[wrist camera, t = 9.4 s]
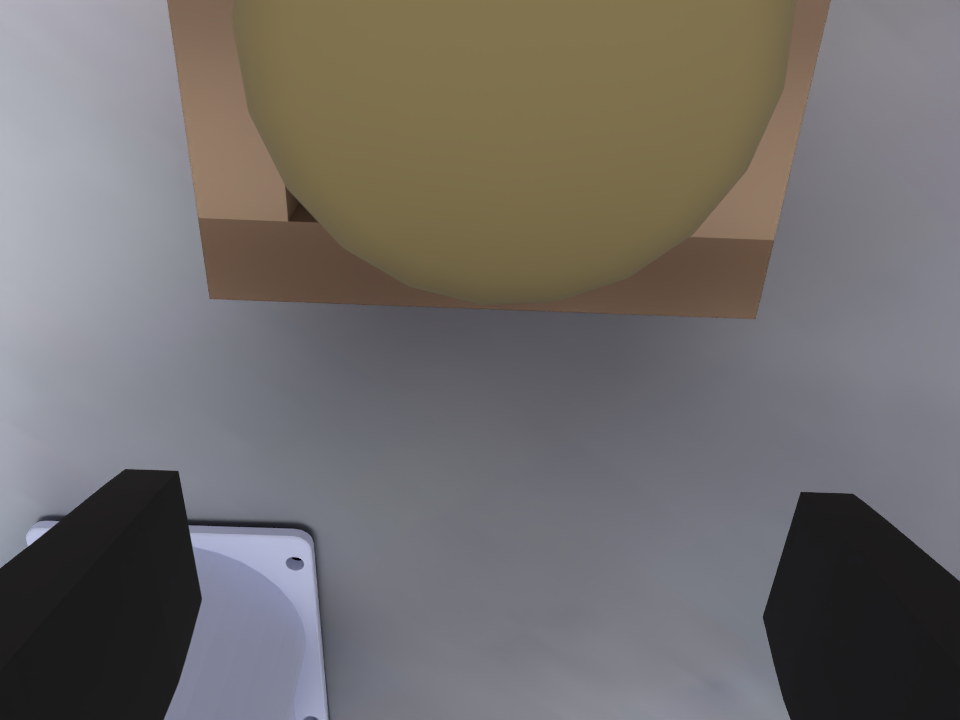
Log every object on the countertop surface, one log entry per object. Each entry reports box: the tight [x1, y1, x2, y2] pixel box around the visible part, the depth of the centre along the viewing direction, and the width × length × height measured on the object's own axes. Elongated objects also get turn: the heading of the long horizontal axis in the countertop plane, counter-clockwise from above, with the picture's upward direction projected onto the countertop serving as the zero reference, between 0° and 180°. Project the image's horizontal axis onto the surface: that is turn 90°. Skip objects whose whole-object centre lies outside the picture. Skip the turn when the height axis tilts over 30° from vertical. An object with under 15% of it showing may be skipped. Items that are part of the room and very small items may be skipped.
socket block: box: [167, 0, 831, 319], centre depth 15 cm, size 11×11×3 cm
